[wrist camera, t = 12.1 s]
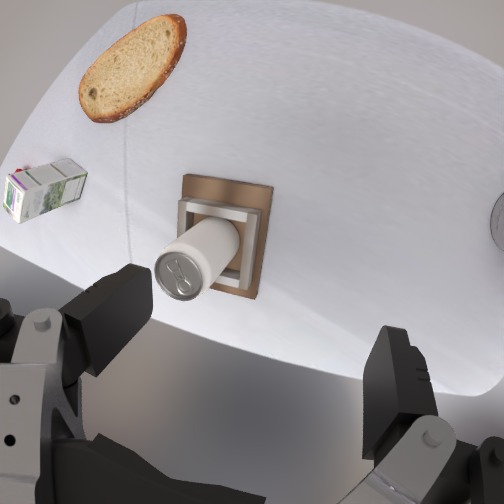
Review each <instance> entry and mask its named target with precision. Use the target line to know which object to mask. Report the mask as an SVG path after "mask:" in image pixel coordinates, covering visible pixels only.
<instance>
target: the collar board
mask: <svg viewBox="0 0 504 504" xmlns="http://www.w3.org/2000/svg"><path fill="white" fill-rule="evenodd" d="M272 194H273V187H269V186H263V185H257V184H252V183H246V182H240V181H234V180H227V179H221V178H214V177H207V176H200V175H193V174H186V175H183V184H182V199H181V200H179V201H178V223H177V238H178V237H180V236H181V235H182V234H184V233H185V232H186V231H188V230H189V229H191V228H192V227H193V226H195V225H196V224H198V223H199V222H201V221H202V220H204V219H206V218H208V217H212V216H215V217H221V218H224V219H226V220H228V221H229V222H231V223H232V224H233V225H234V227H235V228H236V230H237V232H238V234H239V238H240V245H239V249H238V251H237V253H236V254H235V256H234V257H233V258H232V260H231V261H230V262H229V264H228V265H227V266H226V267H225V269H224V270H223V271H222V272H221V274H220V275H219V276H218V277H217V279H216V280H215V281H214V282H213V284H212V285H211V286H210V287H209V288H211V289H214V290H218V291H222V292H226V293H230V294H234V295H238V296H242V297H246V298H250V299H254V300H255V298H256V296H257V294H258V287H259V281H260V274H261V268H262V261H263V255H264V248H265V241H266V235H267V228H268V221H269V214H270V208H271V201H272Z"/></svg>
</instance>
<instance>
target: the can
mask: <svg viewBox="0 0 504 504" xmlns="http://www.w3.org/2000/svg"><path fill="white" fill-rule="evenodd" d="M239 245H240V238H239V234H238V232H237V230H236V228H235V227H234V225H233V224H232V223H231V222H229V221H228V220H226V219H224V218H221V217H215V216H212V217H208V218H206V219H204V220H202V221H201V222H199V223H198V224H196V225H195V226H193V227H192V228H191V229H189V230H188V231H186V232H185V233H184V234H182V235H181V236H180V237H178V238H177V239H176V240H174V241H173V242H171V243H170V244H169V245H168V246H166V247H165V248H164V249H163V251H162V252H161V254H160V256H159V258H158V259H157V261H156V263H155V268H154V272H155V278H156V280H157V283H158V284H159V286H160V288H161V289H162V290H163V291H164V292H165V293H166V294H167V295H169V296H170V297H172V298H174V299H176V300H180V301H189V300H192V299H194V298H196V297H197V296H199V295H202V294H203V293H204V292H206V291H207V290H208V288H209V287H210V286H211V285H212V284H213V282H214V281H215V280H216V279H217V277H218V276H219V275H220V274H221V272H222V271H223V270H224V269H225V267H226V266H227V265H228V264H229V262H230V261H231V260H232V258H233V257H234V256H235V254H236V253H237V251H238V249H239Z"/></svg>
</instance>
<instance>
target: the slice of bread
mask: <svg viewBox="0 0 504 504" xmlns="http://www.w3.org/2000/svg"><path fill="white" fill-rule="evenodd" d="M186 36H187V28H186V24H185V20H184V18H183V17H181V16H179V15H177V14H170V15H161V16H157V17H155V18H153V19H151V20H149V21H147V22H145V23H143V24H141V25H140V26H139V27H138V28H136V29H134V30H132V31H131V32H129V33H128V34H127V35H125V36H124V37H123V38H121V39H120V40H119V41H117V42H116V43H115V44H113V45H112V46H111V47H110V48H109V49H108V50H107V51H106V52H104V53H103V54H102V55H101V56H100V57H99V58H98V59H97V60H96V61H95V62H94V64H93V65H92V66H91V67H89V69H88V70H87V72H86V73H85V74H84V76H83V77H82V80H81V82H80V85H79V100H80V104H81V107H82V109H83V111H84V112H85V113H86V115H87V116H88V117H89V118H90V119H91V120H92V121H93V122H97V123H113V122H115V121H117V120H119V119H122V118H124V117H126V116H127V115H129V114H130V113H132V112H134V111H135V110H136V109H137V108H139V107H140V106H142V105H143V104H144V103H145V102H147V101H148V100H149V99H150V97H151V96H152V94H153V93H154V92H155V90H156V89H158V88H159V87H160V86H162V85H163V83H164V82H165V80H166V79H167V78H168V77H169V75H170V74H171V72H172V71H173V69H174V68H175V66H176V65H177V63H178V61H179V59H180V57H181V54H182V52H183V49H184V46H185V43H186Z"/></svg>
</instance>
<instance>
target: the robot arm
mask: <svg viewBox="0 0 504 504" xmlns="http://www.w3.org/2000/svg"><path fill="white" fill-rule="evenodd" d="M491 232H492V236H493V239H494V241H495V243H496V244H497V245H498V246H499V248H501V249H502V250H503V251H504V194H503V195H502V196H501V197H500V198H499V200H498V201H497V203H496V205H495V207H494V210H493V212H492V217H491ZM152 311H153V295H152V275H151V271H150V269H149V268H145V267H142V266H138V265H135V264H131V263H130V264H127V265H126V266H125V267H123V268H122V269H121V270H119V271H118V272H116V273H113V274H110V275H108V276H105V277H102V278H101V279H100V280H98V281H97V282H95V283H94V284H93V286H90V287H89V288H87V289H86V290H85V292H84V291H83V292H82V293H81V294H79V295H78V296H77V297H75V298H74V299H73V300H71V301H70V302H69V303H67V304H66V305H65V306H63V307H62V308H61V309H59V310H58V311H57V310H55V309H51V308H42V309H37V310H35V311H33V312H31V313H29V314H28V315H27V316H26V317H24V316H20V315H15V314H13V312H12V308H11V305H10V303H9V301H7V300H6V299H3V298H0V504H264V503H265V500H266V497H263V496H258V495H254V494H250V493H246V492H242V491H239V490H234V489H231V488H228V487H224V486H221V485H212V484H203V483H195V482H188V481H181V480H175V479H171V478H169V477H167V476H166V475H164V474H163V473H162V472H160V471H159V470H157V469H156V468H154V467H153V466H152V465H151V464H149V463H148V462H147V461H145V460H144V459H143V458H142V457H140V456H139V455H138V454H137V453H135V452H134V451H132V450H130V449H128V448H126V447H124V446H122V445H120V444H118V443H116V442H114V441H113V440H111V439H109V438H107V437H105V436H103V435H102V434H100V433H99V434H98V435H97V436H96V437H95V439H94V440H93V441H90V440H87V438H86V435H85V432H84V428H83V419H82V380H81V377H80V376H81V374H82V373H83V372H84V371H85V372H87V373H89V374H91V375H93V376H94V377H97V376H98V375H99V374H100V373H101V372H102V371H103V370H104V369H105V368H106V366H107V365H108V364H109V363H110V362H111V361H112V360H113V359H114V357H115V356H116V355H117V354H118V353H119V352H120V351H121V350H122V349H123V348H124V346H125V345H126V344H127V343H128V342H129V341H130V340H131V339H132V338H133V337H134V336H135V335H136V334H137V332H138V331H139V330H140V329H141V328H142V327H143V326H144V325H145V324H146V323H147V322H148V320H149V319H150V317H151V314H152ZM427 371H428V368H427V365H426V361H425V358H424V356H423V355H422V354H421V352H420V351H419V350H418V348H417V347H415V346H410V342H409V338H408V334H407V331H406V330H405V329H402V328H396V327H391V326H386V325H384V326H383V327H382V328H381V330H380V333H379V335H378V337H377V339H376V342H375V344H374V346H373V348H372V351H371V353H370V355H369V357H368V359H367V362H366V365H365V368H364V373H363V403H364V404H363V411H364V413H363V451H362V459H367V460H374V469H373V470H372V471H371V472H370V473H369V474H368V475H367V476H366V477H365V478H364V479H363V480H362V481H361V482H360V483H359V484H358V485H357V486H356V487H354V489H352V491H350V492H349V493H348V494H347V495H346V496H345V497H344V498H343V499H342V500H340V501H339V502H338V503H337V504H469V503H471V504H504V439H502V438H500V437H495V436H493V437H489V438H487V439H486V440H485V441H484V442H482V443H481V444H480V445H479V446H475V445H472V444H468V443H465V442H462V441H459V440H457V439H456V434H455V432H454V430H453V428H452V427H451V425H450V424H449V423H448V422H447V421H445V420H444V419H442V418H440V417H438V411H437V407H436V402H435V398H434V393H433V389H432V384H431V382H430V376H429V372H427Z"/></svg>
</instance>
